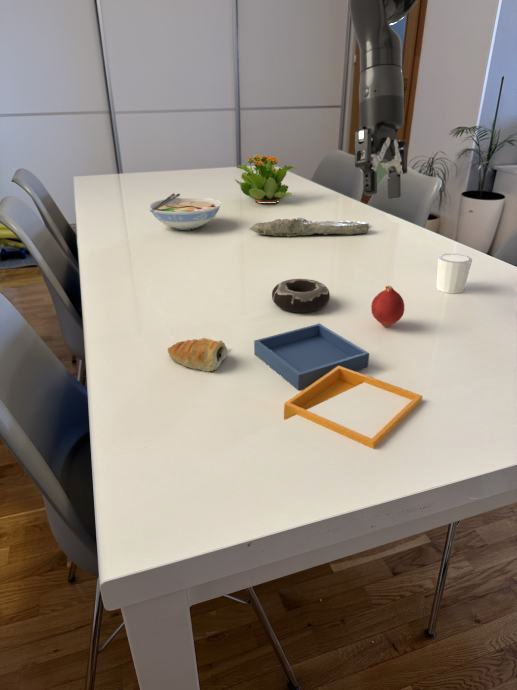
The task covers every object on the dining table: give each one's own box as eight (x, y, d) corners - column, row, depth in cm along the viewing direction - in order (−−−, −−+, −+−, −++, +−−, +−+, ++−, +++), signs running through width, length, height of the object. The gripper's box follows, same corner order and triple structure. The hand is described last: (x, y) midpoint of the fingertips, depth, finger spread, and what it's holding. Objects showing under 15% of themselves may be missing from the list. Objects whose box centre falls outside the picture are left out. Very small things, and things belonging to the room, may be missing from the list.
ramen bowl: (211, 239, 150) (209, 210, 147) (137, 236, 154) (134, 209, 150) (230, 219, 172) (229, 194, 169) (165, 217, 176) (163, 193, 172)
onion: (384, 317, 98) (388, 277, 95) (408, 327, 94) (414, 286, 90) (363, 325, 95) (366, 284, 92) (387, 335, 91) (392, 293, 87)
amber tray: (337, 380, 77) (338, 365, 76) (419, 411, 70) (422, 395, 69) (283, 419, 69) (284, 403, 67) (371, 460, 61) (373, 442, 60)
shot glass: (456, 296, 107) (462, 264, 104) (427, 288, 112) (431, 257, 109) (472, 288, 111) (478, 257, 108) (443, 281, 116) (448, 250, 113)
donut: (275, 292, 111) (276, 274, 109) (330, 295, 109) (331, 277, 107) (267, 313, 100) (267, 294, 99) (327, 317, 99) (328, 297, 97)
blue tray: (319, 336, 91) (319, 323, 90) (368, 367, 81) (369, 353, 80) (254, 354, 85) (253, 340, 84) (298, 390, 75) (298, 375, 74)
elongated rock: (371, 241, 151) (364, 234, 160) (373, 222, 149) (366, 217, 158) (253, 236, 149) (252, 230, 159) (253, 218, 147) (253, 212, 156)
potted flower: (311, 204, 193) (313, 154, 185) (258, 212, 182) (257, 160, 174) (275, 194, 212) (275, 149, 204) (224, 200, 201) (222, 153, 193)
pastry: (161, 366, 82) (158, 344, 80) (179, 348, 88) (177, 327, 86) (215, 374, 80) (214, 352, 78) (230, 355, 85) (230, 334, 84)
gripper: (380, 85, 81) (381, 190, 83) (420, 103, 91) (420, 196, 94) (340, 97, 86) (342, 196, 88) (382, 113, 96) (383, 202, 99)
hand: (382, 196), depth 91 cm, fingers open, 8 cm apart
